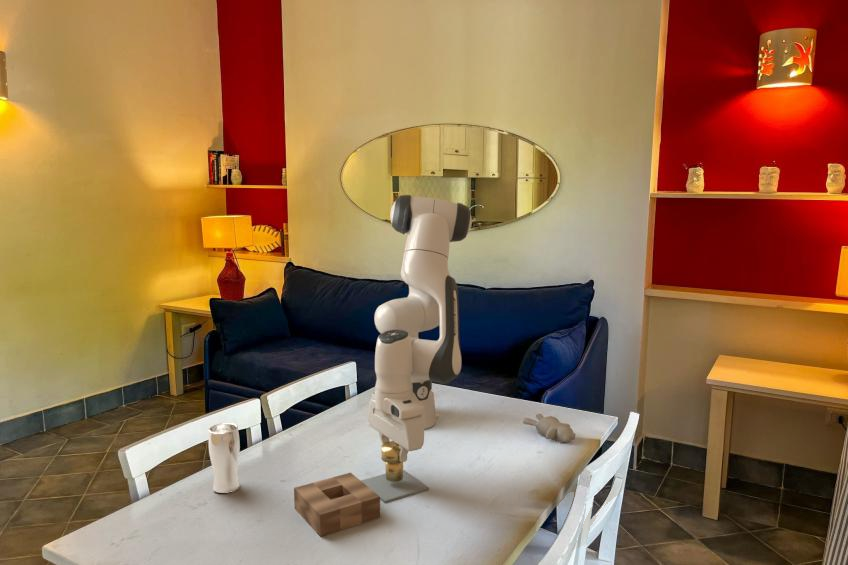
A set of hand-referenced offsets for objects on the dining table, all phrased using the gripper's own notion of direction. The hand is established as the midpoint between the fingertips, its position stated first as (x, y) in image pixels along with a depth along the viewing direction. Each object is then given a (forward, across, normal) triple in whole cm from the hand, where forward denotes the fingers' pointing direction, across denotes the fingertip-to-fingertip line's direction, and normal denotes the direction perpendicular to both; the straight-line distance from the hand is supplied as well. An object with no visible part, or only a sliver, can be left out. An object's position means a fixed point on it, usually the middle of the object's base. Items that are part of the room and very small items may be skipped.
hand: (394, 455), depth 149 cm
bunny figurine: (+8, -2, +54) cm, 54 cm away
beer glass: (+8, -21, -34) cm, 41 cm away
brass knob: (+6, 0, 0) cm, 6 cm away
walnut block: (+8, +4, -17) cm, 19 cm away
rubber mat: (+8, 0, 0) cm, 8 cm away
